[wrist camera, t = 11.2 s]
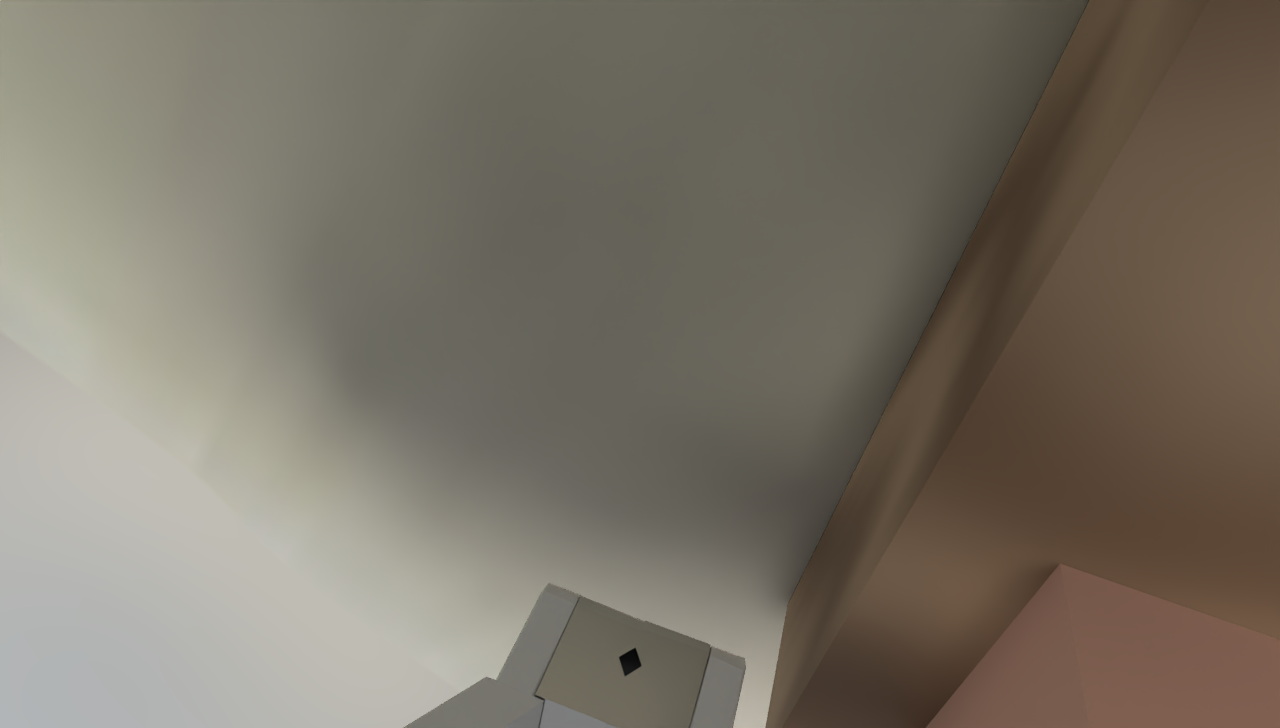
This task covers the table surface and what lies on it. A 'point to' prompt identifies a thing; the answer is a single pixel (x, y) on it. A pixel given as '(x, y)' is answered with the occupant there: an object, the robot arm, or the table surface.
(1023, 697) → the clay tile
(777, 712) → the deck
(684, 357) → the table surface
